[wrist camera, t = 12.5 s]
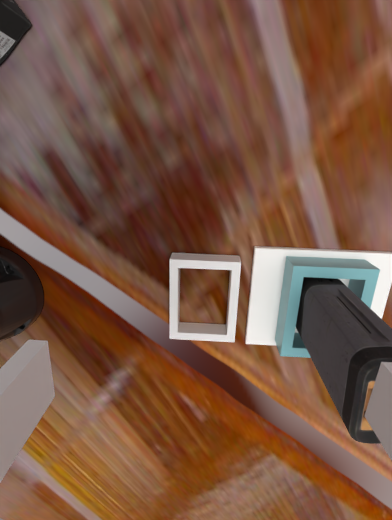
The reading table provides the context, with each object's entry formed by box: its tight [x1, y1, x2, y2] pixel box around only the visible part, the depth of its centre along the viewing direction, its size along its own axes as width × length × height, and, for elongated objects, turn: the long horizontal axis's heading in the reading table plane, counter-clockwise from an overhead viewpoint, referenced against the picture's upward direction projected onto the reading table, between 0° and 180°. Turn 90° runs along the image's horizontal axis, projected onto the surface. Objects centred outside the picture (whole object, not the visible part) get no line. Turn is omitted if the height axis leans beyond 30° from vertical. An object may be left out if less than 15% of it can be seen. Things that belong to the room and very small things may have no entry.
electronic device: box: [296, 277, 392, 443], centre depth 35 cm, size 9×6×20 cm, turn 3°
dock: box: [245, 246, 392, 358], centre depth 43 cm, size 20×16×5 cm
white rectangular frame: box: [170, 253, 241, 342], centre depth 44 cm, size 10×13×3 cm
